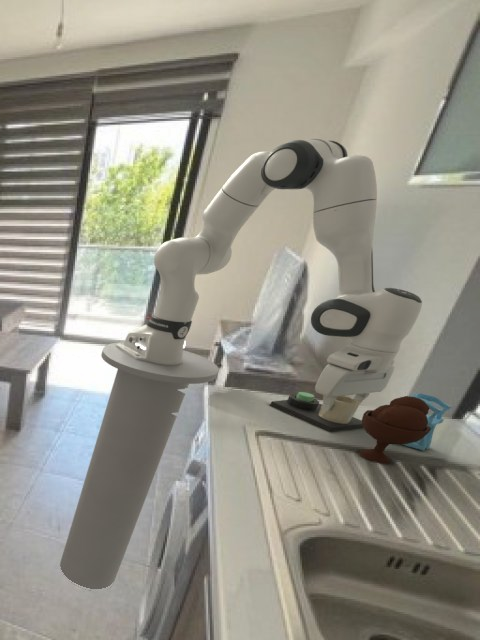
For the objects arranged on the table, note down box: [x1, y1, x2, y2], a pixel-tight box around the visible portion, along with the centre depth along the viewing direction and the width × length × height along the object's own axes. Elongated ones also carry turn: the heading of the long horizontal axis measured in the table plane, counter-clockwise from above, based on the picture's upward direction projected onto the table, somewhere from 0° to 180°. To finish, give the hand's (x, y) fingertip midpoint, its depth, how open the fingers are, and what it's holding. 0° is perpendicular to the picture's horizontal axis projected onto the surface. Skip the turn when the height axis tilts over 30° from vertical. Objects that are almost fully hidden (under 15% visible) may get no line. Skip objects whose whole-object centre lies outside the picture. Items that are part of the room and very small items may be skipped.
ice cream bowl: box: [358, 395, 432, 465], centre depth 106 cm, size 11×11×15 cm
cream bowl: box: [318, 395, 362, 424], centre depth 124 cm, size 6×6×6 cm
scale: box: [269, 393, 364, 433], centre depth 129 cm, size 16×13×3 cm
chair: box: [402, 393, 453, 451], centre depth 115 cm, size 8×8×12 cm
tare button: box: [296, 391, 315, 402], centre depth 132 cm, size 4×4×2 cm
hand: (338, 408), depth 124 cm, fingers open, 8 cm apart
